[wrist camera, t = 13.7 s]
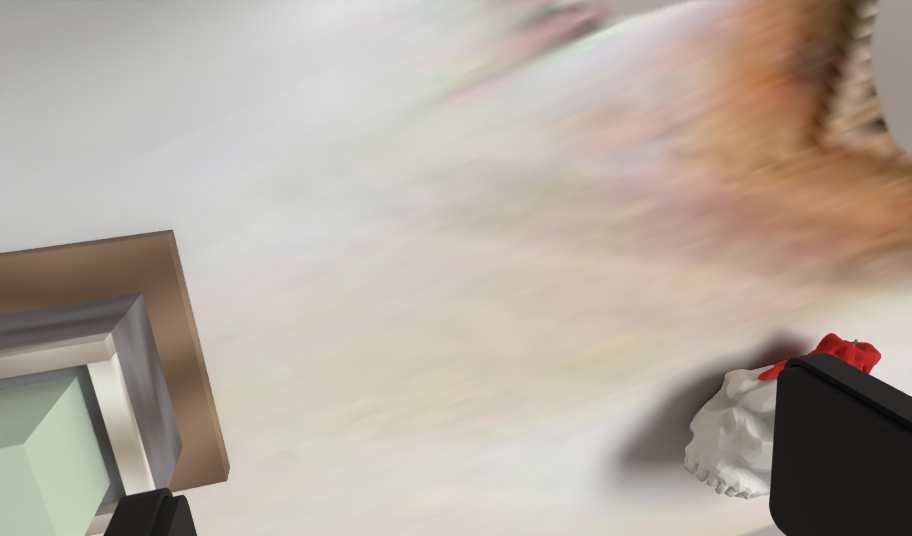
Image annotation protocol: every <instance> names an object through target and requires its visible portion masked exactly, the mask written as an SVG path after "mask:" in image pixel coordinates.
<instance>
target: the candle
mask: <svg viewBox="0 0 912 536" xmlns="http://www.w3.org/2000/svg"><path fill="white" fill-rule="evenodd" d="M822 352H826V353H829V354H831V355H833V356H835V357H837V358H839V359H841V360H843V361H845V362H847V363H848V364H850V365H852V366H854V367H856V368H858V369H860V370H862V371H864V372H866V373H867V374H870V372H871V370H872V368H873V367H874V365H876V364H877V363H878V361H879V360H880V359H881V354H880V353H879V352H878V351H877V350H876V349H875V348H874V347H873V345H871V344H869V343H863V342H858V340H857V339H856V340H855V341H854V342H849V341H846V340H844V341H843V340H842V339H841V338H839V337H838V336H837V335H836V334H833V333H830V334H828V335H826V336H825V337H824V338H823V339H822V340H821V342H820V343H819V345H818V346H817V348H816V349H815V350H814V351H812V352H811V353H809V354H808V355H810V354H815V353H822ZM789 360H790V359H789ZM787 361H788V360H783V361H781V362H778V363H777V364H776V365H770V366H766V367H763V368H759V369H754V370H746V369H737V370H734V371H731V372H728V373H726V375H725V378H724V382H723V385H722V387H721V389H720V390H719V391H718V392H717V393H716V394H715V396H714V397H713V398H712V399H710V400H709V401H708V402H707V403H706V404H704V406H703V407H702V408H701V409H700V410H699V411H698V413H697V414H696V415H695V416H694V418H693V420H692V422H691V424H690V430H691V431H692V432H693V433H694V436H693V440H692V441H691V442H690V443H689V444H688V445H687V446H686V447H685V454H686V456H685V461H684V468H686V469H687V471H688V472H690V473H691V474H693V473H695V471H696V470H697V474H696V476H697V478H698V479H699V480H700V481H704V480H706V478H707V477H708V479H707V484H708V485H710V486H715V485H716V484H717V482H719V484H718V486H717V488H716V489H715V490H716V492H717V493H718V494H722V493H724V492H725V494H726V495H727V496H730V497H732V496H735V497H740V498H742V497H743V498H745V499H749V498H754V497H758V496H761V495H769V494H770V483H771V468H772V452H773V436H774V420H775V404H776V389H777V377H778V374H779V372H780V371H781V370H783V369H784V365H785V364H786V362H787Z"/></svg>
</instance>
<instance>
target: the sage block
mask: <svg viewBox="0 0 912 536" xmlns="http://www.w3.org/2000/svg"><path fill="white" fill-rule="evenodd" d="M110 483H111V482H110V479H109V476H108V473H107V470H106V467H105V464H104V460H103V457H102V454H101V451H100V448H99V445H98V441H97V438H96V435H95V432H94V429H93V426H92V422H91V419H90V416H89V413H88V410H87V407H86V403H85V400H84V397H83V394H82V391H81V388H80V385H79V381H78V378H77V376H76V377H71V378H65V379H59V380H54V381H48V382H42V383H37V384H31V385H26V386H20V387H14V388H9V389H3V390H0V536H84V535H85V533H86V531H87V529H88V527H89V525H90V523H91V521H92V519H93V517H94V515H95V513H96V511H97V509H98V507H99V505H100V503H101V501H102V499H103V497H104V495H105V493H106V491H107V489H108V487H109V485H110Z"/></svg>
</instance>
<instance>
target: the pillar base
mask: <svg viewBox="0 0 912 536" xmlns="http://www.w3.org/2000/svg"><path fill="white" fill-rule="evenodd" d="M76 376H77V378H78V381H79V385H80V388H81V391H82V394H83V397H84V400H85V403H86V407H87V410H88V413H89V416H90V419H91V422H92V426H93V429H94V432H95V435H96V438H97V441H98V445H99V448H100V451H101V454H102V457H103V460H104V464H105V467H106V470H107V473H108V476H109V479H110V482H111V483H110V485H109V487H108V489H107V491H106V493H105V495H104V497H103V499H102V501H101V503H100V505H99V507H98V509H97V511H96V513H95V515H94V517H93V519H92V521H91V523H90V525H89V527H88V529H87V531H86V533H85V535H84V536H90V535H95V534H99V533H104V532H105V531H106V529H107V527H108V524H109V522H110V520H111V518H112V516H113V513H114V511H115V509H116V507H117V505H118V502H119V501H120V499H121V498H122V497H124V496H127V495H132V494H137V493H141V492H146V491H151V490H156V489H161V488H168V489H169V490H170V491H171V492H176V491H181V490H186V489H190V488H195V487H200V486H205V485H210V484H215V483H219V482H224V481H227V479H228V474H229V469H230V466H229V462H228V457H227V453H226V449H225V445H224V441H223V437H222V433H221V428H220V424H219V420H218V416H217V412H216V408H215V403H214V399H213V395H212V391H211V387H210V383H209V378H208V374H207V370H206V366H205V362H204V358H203V353H202V349H201V345H200V341H199V337H198V333H197V328H196V324H195V320H194V316H193V312H192V308H191V303H190V299H189V295H188V291H187V287H186V283H185V279H184V274H183V270H182V266H181V262H180V258H179V254H178V249H177V245H176V241H175V237H174V233H173V230H167V231H160V232H152V233H145V234H138V235H131V236H123V237H116V238H109V239H102V240H95V241H87V242H80V243H73V244H66V245H58V246H51V247H44V248H37V249H29V250H22V251H15V252H8V253H0V390H3V389H9V388H14V387H20V386H26V385H31V384H37V383H42V382H48V381H54V380H59V379H65V378H71V377H76Z"/></svg>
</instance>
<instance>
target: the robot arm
mask: <svg viewBox="0 0 912 536" xmlns="http://www.w3.org/2000/svg"><path fill="white" fill-rule="evenodd" d="M769 509H770V513H771V516H772V518H773V520H774V522H775V524H776V525H777V527H778V528H779V529H780V530H781V531H782V532H783V533H784V534H785V535H786V536H912V397H911V396H909V395H907V394H905V393H904V392H902V391H900V390H898V389H896V388H894V387H892V386H890V385H888V384H886V383H885V382H883V381H881V380H879V379H877V378H875V377H873V376H871V375H869V374H867V373H866V372H864V371H862V370H860V369H858V368H856V367H854V366H852V365H850V364H848V363H847V362H845V361H843V360H841V359H839V358H837V357H835V356H833V355H831V354H829V353H826V352H822V353H815V354H810V355H806V356H801V357H796V358H791V359H790V360H788V361H787V362H786V364H785V365H784V369H783V370H781V371H780V372H779V374H778V377H777V389H776V404H775V420H774V436H773V452H772V468H771V483H770V499H769ZM104 536H197V534H196V530H195V526H194V522H193V519H192V515H191V511H190V508H189V504H188V501H187V499H186V497H185V496H184V495H179V496H175V497H173V495H172V493H171V491H170V490H169V489H168V488H161V489H156V490H151V491H146V492H141V493H137V494H132V495H127V496H124V497H122V498H121V499H120V501H119V502H118V505H117V507H116V509H115V511H114V513H113V516H112V518H111V520H110V522H109V524H108V527H107V529H106V531H105V533H104Z"/></svg>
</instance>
